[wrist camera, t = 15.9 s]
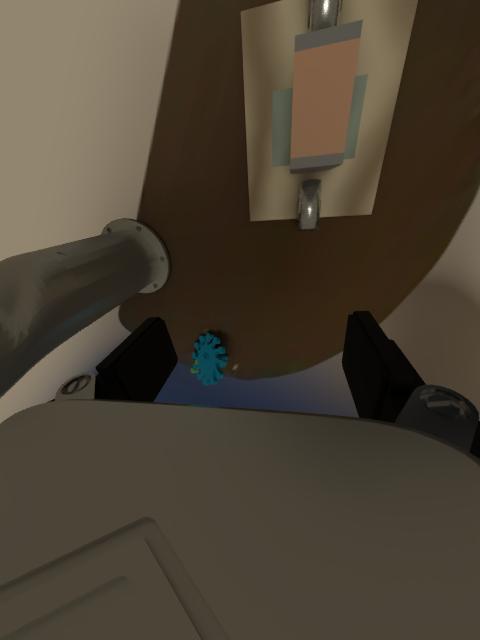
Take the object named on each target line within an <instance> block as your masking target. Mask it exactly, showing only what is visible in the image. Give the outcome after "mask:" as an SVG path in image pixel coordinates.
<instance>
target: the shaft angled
mask: <svg viewBox="0 0 480 640" xmlns="http://www.w3.org/2000/svg"><path fill="white" fill-rule="evenodd" d="M321 189H322V180H320V179H309V180H305V181H303V182H301V183H300V194H299V213H298V231H313V230H318V227H319V214H320V201H321Z"/></svg>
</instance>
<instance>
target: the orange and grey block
mask: <svg viewBox="0 0 480 640" xmlns="http://www.w3.org/2000/svg"><path fill="white" fill-rule="evenodd" d="M362 23H363V20H359V21H355V22H350V23H346V24H342V25H338V26H334V27H329V28H325V29H321V30H317V31H312V32H308V33H304V34H300V35H295V48H294V75H293V102H292V129H291V156H290V174H295V173H305V172H314V171H324V170H331V169H333V168H335V167H337V166H340V165H342V164H343V159H344V152H345V145H346V137H347V130H348V123H349V116H350V109H351V102H352V94H353V87H354V80H355V73H356V66H357V59H358V51H359V44H360V37H361V30H362Z"/></svg>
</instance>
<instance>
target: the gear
mask: <svg viewBox="0 0 480 640" xmlns="http://www.w3.org/2000/svg"><path fill="white" fill-rule="evenodd" d="M213 337H214V335H213V334H211V333H207V334H206V336H200V337H199V339H200V342H196V343H195V344H194V347H195V348H196V349H197V351H198V352H193V354H192V358H195V359H196V360H195V363H194V364H193V368H191V373H197V372H199V369H200V370H201V373H198V374H197V378H198V380H200V379H203V377H204V375H205V374H206V378H205V379H203V384H204V385H209V384H211V385H212V384H217V383H218V381H217V379H218V378H222V377H223V376H224V373H223V372H222V371H221V369H220V367H225V366H226V363H227V361H226V360H228V355H218V353H219V354H225V347H219V348H218V349H216V348H215V345H216V344H219V343H220V342H221V341H220V339H219V337H214V338H213ZM212 339H213V341H212V343H211V344H210V341H211V340H212ZM205 341H206V342H205ZM219 366H220V367H219ZM210 376H211V379H210ZM216 377H217V378H216Z"/></svg>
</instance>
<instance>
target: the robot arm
mask: <svg viewBox="0 0 480 640" xmlns="http://www.w3.org/2000/svg"><path fill="white" fill-rule="evenodd" d="M170 270H171V267H170V258H169V254H168V252H167V249H166V247H165V245H164V243H163V241H162V240H161V239H160V237H159V236H158V235H157V234H156V233H155V232H154V231H153V230H152V229H151V228H150V227H148V226H147V225H145V224H144V223H142V222H139V221H137V220H133V219H126V218H124V219H118V220H114V221H112V222H110V223H109V224H107V225H106V227H105V228H104V229H103V231H102V234H101V235H99V236H95V237H91V238H87V239H83V240H79V241H74V242H70V243H66V244H62V245H58V246H54V247H50V248H46V249H42V250H38V251H33V252H29V253H24V254H20V255H16V256H12V257H9V258H7V259H5V260H2V261H0V398H1V397H2V396H3V395H4V394H5V393H6V392H7V391H8V390H9V389H11V388H12V387H13V386H14V385H15V383H17V382H18V381H19V380H20V379H21V378H22V377H23V376H24V375H25V374H26V373H27V372H28V371H29V370H30V369H31V368H32V367H34V366H35V365H36V364H37V363H38V362H39V361H40V360H41V359H43V358H44V357H45V356H46V355H47V354H49V353H50V352H51V351H53V350H54V349H55V348H57V347H58V346H59V345H61V344H62V343H63V342H65V341H66V340H68V339H69V338H71V337H72V336H74V335H75V334H77V333H78V332H79V331H81V330H82V329H84V328H85V327H87V326H89V325H90V324H92V323H93V322H94V321H96V320H97V319H99V318H101V317H102V316H103V315H105V314H106V313H108V312H109V311H111V310H112V309H114V308H115V307H117V306H118V305H120V304H121V303H123V302H124V301H126V300H127V299H129V298H130V297H132V296H133V295H135V294H136V293H138V292H139V293H152V292H155V291H157V290H158V289H160V288H161V287H162V286H164V285H165V283H166V282H167V280H168V278H169V275H170ZM177 361H178V358H177V355H176V352H175V349H174V346H173V344H172V341H171V338H170V335H169V333H168V330H167V327H166V324H165V322H164V320H162V319H161V318H160V317H150V318H147V319H146V320H145V321H144V322H143V323H142V324H141V325H140V326H139V327H138V328H137V329H136V330H135V331H134V332H133V333H132V334H130V335H129V336H128V337H127V338H126V339H125V340H124V341H123V342H122V343H121V344H120V345H119V346H118V347H117V348H116V349H115V350H114V351H112V352H111V353H110V355H108V356H107V357H106V358H105V359H104V360H103V361H102V362H101V363H100V364H99V365H97V366H96V370H97V371H98V373H99V374H98V375H97V376H95V374H93V373H90V372H87V373H82V374H79V375H77V376H74V377H72V378H71V379H69V380H68V381H66V382H65V383H64V384H62V386H61V387H60V388H59V389H58V391H57V393H56V397H55V399H53V400H51V401H49V402H47V403H43V404H39V405H36V406H33V407H30V408H27V409H25V410H22V411H20V412H18V413H15V414H14V415H12V416H11V417H9V418H8V419H6V420H5V421H3V422H2V423H1V424H0V640H480V421H479V412H478V410H477V409H476V407H475V406H474V405H473V404H472V403H471V402H470V401H469V400H468V399H467V398H465V397H464V396H462V395H461V394H459V393H457V392H455V391H453V390H451V389H449V388H445V387H442V386H438V385H432V384H431V385H426V384H425V383H424V381H423V380H422V378H421V377H420V376H419V374H418V373H417V372H416V370H415V369H414V368H413V366H412V365H411V364H410V362H409V361H408V359H407V358H406V357H405V355H404V354H403V353H402V351H401V350H400V348H399V347H398V346H397V345H396V343H395V342H394V341H393V340H389V339H388V338H387V336H386V335H385V333H384V332H383V331H382V329H381V328H380V326H379V325H378V323H377V322H376V320H375V319H374V318H373V316H372V315H371V313H370V312H369V311H354V312H353V315H349V316H348V322H347V329H346V336H345V343H344V350H343V358H342V366H343V370H344V373H345V376H346V379H347V382H348V385H349V388H350V390H351V393H352V397H353V400H354V403H355V406H356V409H357V412H358V415H359V418H357V417H349V416H338V415H328V414H316V413H305V412H290V411H277V410H264V409H249V408H236V407H221V406H206V405H191V404H176V403H159V402H153V401H154V400H155V398H156V397H157V395H158V393H159V392H160V390H161V389H162V387H163V385H164V384H165V382H166V380H167V379H168V377H169V375H170V374H171V372H172V371H173V369H174V367H175V366H176V364H177Z"/></svg>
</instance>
